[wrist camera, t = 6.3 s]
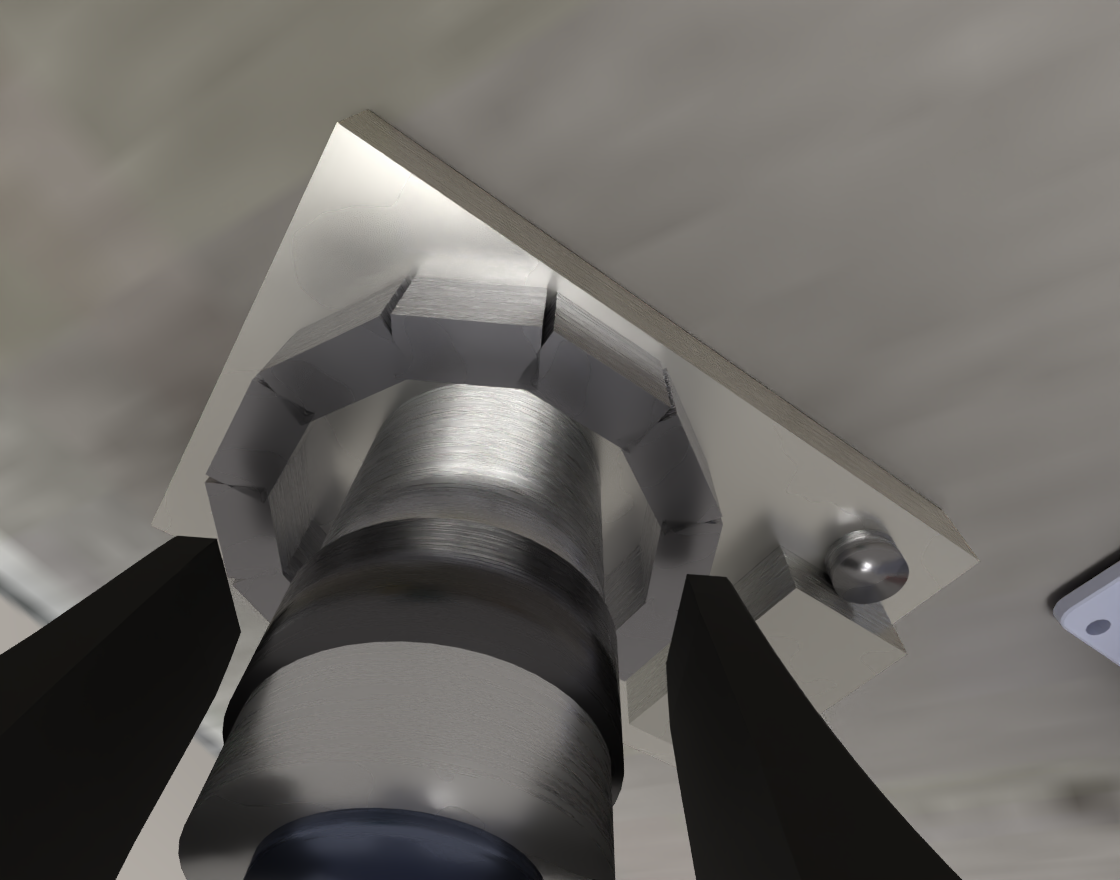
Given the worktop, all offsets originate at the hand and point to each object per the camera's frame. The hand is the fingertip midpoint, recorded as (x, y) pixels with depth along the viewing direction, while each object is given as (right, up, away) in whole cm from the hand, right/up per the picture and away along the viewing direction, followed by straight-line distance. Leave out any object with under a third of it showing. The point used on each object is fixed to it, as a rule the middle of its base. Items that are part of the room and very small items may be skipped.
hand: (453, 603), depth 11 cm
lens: (0, +2, +2) cm, 3 cm away
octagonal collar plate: (+2, +1, +4) cm, 5 cm away
